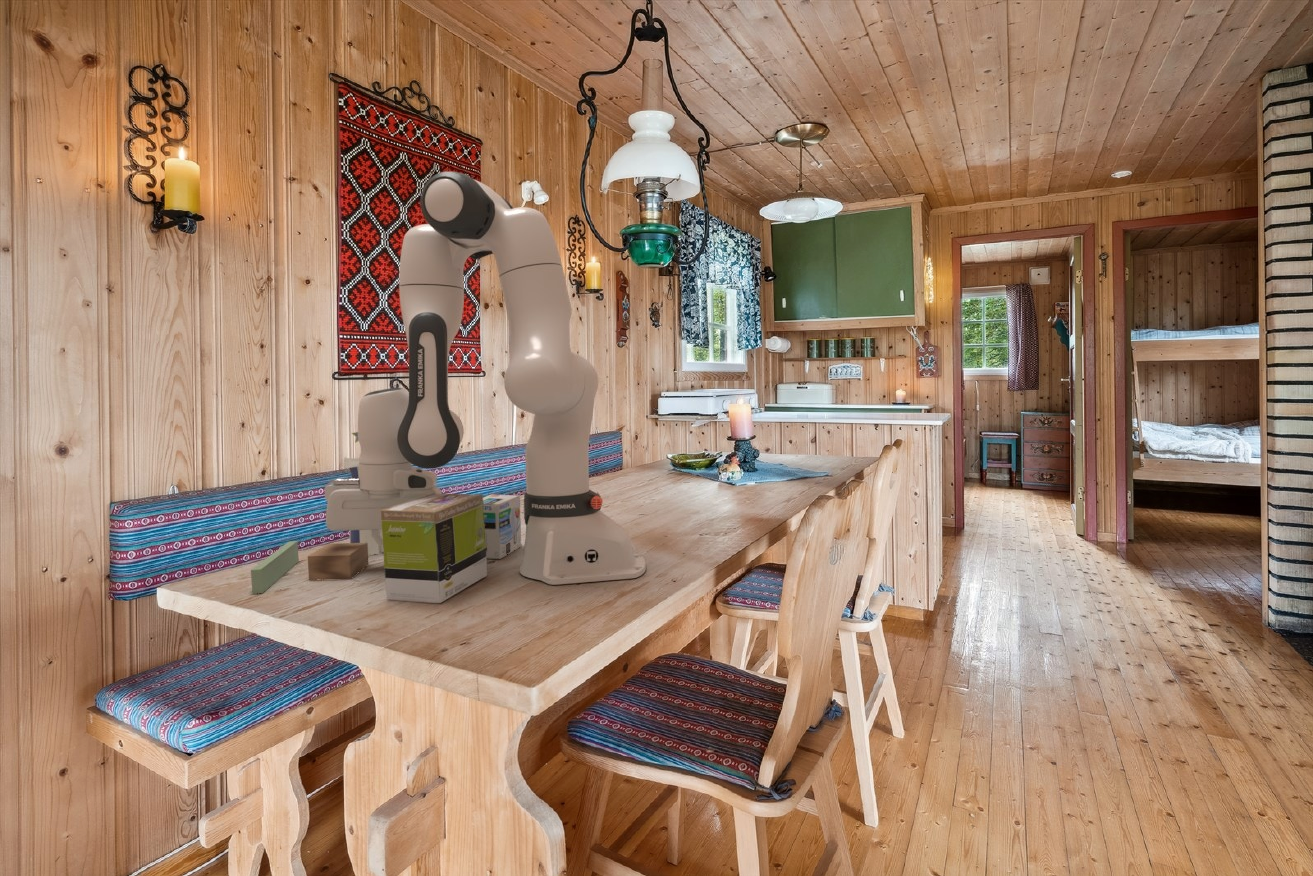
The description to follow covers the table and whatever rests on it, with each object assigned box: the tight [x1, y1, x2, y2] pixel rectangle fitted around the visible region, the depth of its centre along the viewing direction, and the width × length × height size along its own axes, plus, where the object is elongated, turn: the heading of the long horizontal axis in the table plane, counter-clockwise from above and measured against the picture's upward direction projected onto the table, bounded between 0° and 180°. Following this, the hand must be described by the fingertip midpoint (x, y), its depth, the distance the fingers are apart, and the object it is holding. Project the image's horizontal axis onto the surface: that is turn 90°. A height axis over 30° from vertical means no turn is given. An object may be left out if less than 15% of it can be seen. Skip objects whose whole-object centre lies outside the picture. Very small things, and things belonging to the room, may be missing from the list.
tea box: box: [381, 493, 488, 604], centre depth 112 cm, size 15×10×15 cm, turn 165°
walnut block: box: [307, 542, 369, 581], centre depth 123 cm, size 7×9×4 cm
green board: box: [250, 540, 300, 595], centre depth 121 cm, size 2×20×4 cm, turn 12°
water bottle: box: [343, 430, 383, 556], centre depth 137 cm, size 8×9×25 cm
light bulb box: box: [483, 494, 522, 560], centre depth 136 cm, size 11×7×11 cm, turn 168°
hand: (388, 552), depth 125 cm, fingers closed
